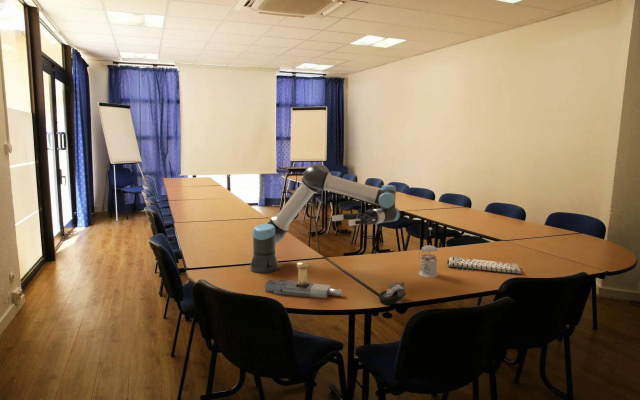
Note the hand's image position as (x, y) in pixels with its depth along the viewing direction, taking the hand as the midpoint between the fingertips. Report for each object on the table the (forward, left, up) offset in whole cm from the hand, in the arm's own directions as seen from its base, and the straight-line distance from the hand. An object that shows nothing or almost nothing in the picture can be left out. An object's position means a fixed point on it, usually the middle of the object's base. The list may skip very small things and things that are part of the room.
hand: (340, 220), depth 201 cm
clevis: (-13, -22, -30) cm, 39 cm away
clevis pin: (-13, -22, -30) cm, 39 cm away
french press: (+42, +22, -30) cm, 57 cm away
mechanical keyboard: (+72, +43, -31) cm, 89 cm away
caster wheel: (+28, -21, -30) cm, 46 cm away
